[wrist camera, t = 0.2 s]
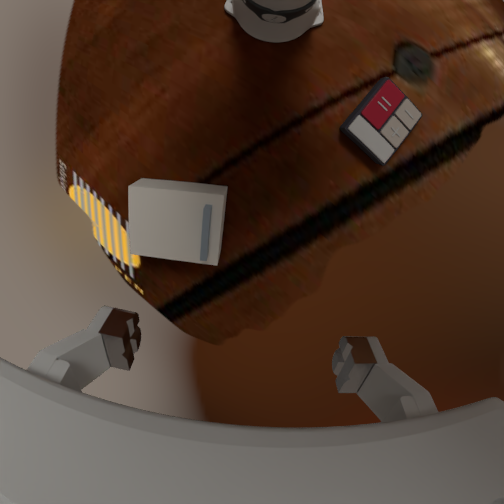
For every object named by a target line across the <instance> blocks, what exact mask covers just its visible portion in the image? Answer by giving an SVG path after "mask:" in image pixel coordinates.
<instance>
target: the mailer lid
mask: <svg viewBox="0 0 504 504" xmlns="http://www.w3.org/2000/svg"><path fill="white" fill-rule="evenodd" d="M128 203H129V237H130V254H135V255H142V256H149V257H156V258H163V259H171V260H178V261H186V262H193V263H201V264H209V265H216V266H217V265H218V255H219V244H220V234H221V224H222V214H223V204H224V194H216V193H207V192H197V191H188V190H177V189H167V188H155V187H143V186H128Z"/></svg>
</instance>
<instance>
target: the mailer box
mask: <svg viewBox="0 0 504 504" xmlns="http://www.w3.org/2000/svg"><path fill="white" fill-rule="evenodd" d="M130 186H143V187H155V188H167V189H177V190H188V191H197V192H207V193H216V194H224V204H223V214H222V224H221V234H220V244H219V255H218V261H219V256H220V252H221V245H222V235H223V225H224V216H225V207H226V198H227V189H228V186H221V185H212V184H203V183H193V182H183V181H172V180H159V179H146V178H141V179H140V180H138V181H136V182H135V183H133V184H131V185H130Z"/></svg>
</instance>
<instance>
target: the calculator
mask: <svg viewBox="0 0 504 504" xmlns="http://www.w3.org/2000/svg"><path fill="white" fill-rule="evenodd" d="M421 117H422V113H421V112H420V111H419V110H418V109H417V107H416V106H415V105H414V104H413V103H412V102H411V101H410V100H409V99H408V97H407V96H406V95H405V94H404V93H403V92H402V91H401V90H400V89H399V88H398V87H397V86H396V85H395V84H394V83H393V82H392V81H391V80H390V79H389V78H388V77H384V78H381V79H380V80H379V81H378V82H377V83H376V85H375V86H374V87H373V88H372V89H371V91H370V92H369V93H368V94H367V95H366V97H365V98H364V99H363V100H362V101H361V103H360V104H359V105H358V106H357V108H356V109H355V110H354V111H353V112H352V113H351V114H350V116H349V117H348V118H347V119H346V120H345V122H344V123H343V124H342V125H341V126H340V130H341V131H342V132H343V133H344V134H345V135H346V136H347V137H349V138H350V139H351V140H352V141H353V142H354V143H355V144H356V145H357V146H358V147H359V148H360V149H361V150H363V151H364V152H365V153H366V154H367V155H368V156H369V157H370V158H371V159H372V160H373V161H374V162H375V163H376V164H379V165H382V166H384V165H385V164H386V163H387V162H388V161H389V159H390V158H391V157H392V155H393V154H394V153H395V152H396V150H397V149H398V148H399V146H400V145H401V144H402V142H403V141H404V140H405V138H406V137H407V136H408V134H409V133H410V132H411V131H412V129H413V128H414V126H415V125H416V124H417V122H418V121H419V120H420V118H421Z"/></svg>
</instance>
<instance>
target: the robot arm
mask: <svg viewBox="0 0 504 504" xmlns="http://www.w3.org/2000/svg"><path fill="white" fill-rule="evenodd" d="M231 2H232V3H231ZM224 9H225V11H226V12H227V13H229V14H230V15H232V16H234V17H235V18H236V19H237V21H238V23H239V24H240V26H241V27H242V28H243V29H244V30H245V31H246V32H247V33H248V34H250V35H251V36H253V37H255V38H257V39H260V40H263V41H267V42H286V41H290V40H293V39H295V38H297V37H299V36H301V35H302V34H303V33H304V32H305V31H307V30H308V29H309V28H312V27H315V26H318V25H321V24H322V23H323V21H324V17H323V9H322V1H321V0H227V1H226V3H225V6H224ZM138 323H139V315H138V313H136V312H131V311H127V310H122V309H118V308H112V307H108V306H102V307H101V309H100V310H99V312H98V313H97V314H96V316H95V318H94V319H93V321H92V322H91V323H90V325H89V326H88V328H87V330H84V329H83V330H81V331H79V332H77V333H75V334H73V335H71V336H69V337H67V338H64V339H62V340H61V341H58V342H56V343H54V344H52V345H50V346H48V347H47V348H44V349H42V350H40V351H39V352H38V354H37V355H36V357H35V358H34V360H33V362H32V363H31V364H30V366H29V367H28V369H27V370H24V369H23V368H20V367H18V366H16V365H14V364H12V363H10V362H8V361H6V360H4V359H2V358H0V504H504V402H503V401H501V400H500V399H498V398H495V397H492V398H488V399H485V400H482V401H479V402H476V403H472V404H469V405H465V406H462V407H458V408H454V409H451V410H446V411H442V412H438V411H437V409H436V406H435V404H434V402H433V400H432V397H431V395H430V393H429V392H428V391H427V390H426V389H424V388H423V387H421V386H420V385H419V384H418V383H417V382H415V381H414V380H413V379H411V378H410V377H409V376H407V375H406V374H405V373H403V372H402V371H401V370H400V369H398V368H397V367H396V366H394V365H393V364H392V363H391V364H389V363H388V361H387V358H386V356H385V354H384V352H383V350H382V347H381V345H380V343H379V341H378V339H377V338H376V337H348V336H343V337H342V338H341V339H340V342H339V346H340V348H339V349H337V350H336V351H335V353H334V356H333V361H332V368H333V372H334V373H335V374H336V375H337V376H338V377H337V379H336V385H337V389H338V392H339V393H357V394H358V396H359V397H360V398H361V399H362V400H363V401H364V402H365V403H366V404H367V406H368V407H369V408H370V409H371V410H372V411H373V412H374V413H375V414H376V416H377V417H378V418H379V419H380V420H381V421H382V422H381V423H373V424H364V425H352V426H339V427H316V428H280V427H277V428H276V427H256V426H243V425H231V424H222V423H214V422H206V421H199V420H192V419H186V418H180V417H175V416H169V415H164V414H159V413H155V412H150V411H146V410H141V409H137V408H133V407H129V406H125V405H122V404H118V403H114V402H111V401H107V400H104V399H101V398H97V397H94V396H91V395H88V394H85V393H82V391H81V389H83V388H84V387H85V386H87V385H88V384H89V383H91V382H92V381H93V380H95V379H96V378H97V377H98V376H100V375H101V374H102V373H104V372H105V371H106V370H108V369H109V368H110V367H115V368H119V369H124V370H130V368H131V366H132V363H133V361H134V353H135V352H137V351H138V349H139V346H140V341H141V330H140V328H139V327H138V326H137V325H138Z"/></svg>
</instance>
